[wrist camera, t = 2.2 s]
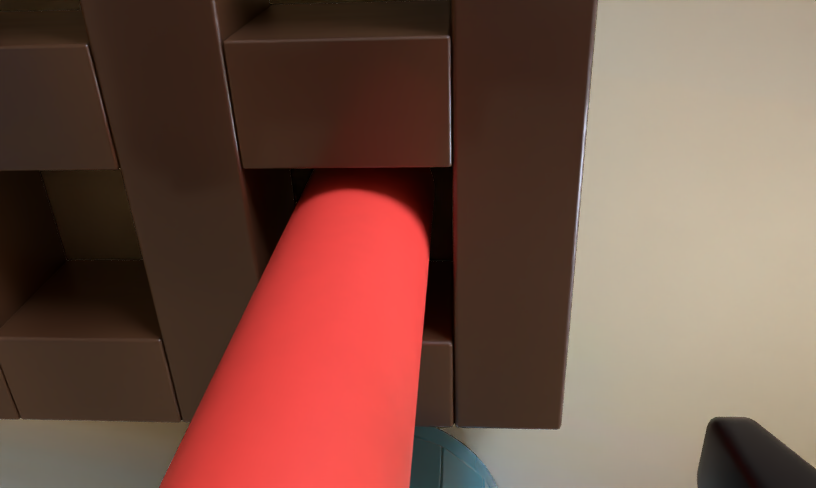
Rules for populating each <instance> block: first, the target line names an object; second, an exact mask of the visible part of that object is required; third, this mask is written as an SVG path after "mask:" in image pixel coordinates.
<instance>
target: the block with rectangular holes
mask: <svg viewBox="0 0 816 488" xmlns="http://www.w3.org/2000/svg"><path fill="white" fill-rule="evenodd" d="M79 3H80V7H81V10H46V11H9V12H0V419H20V418H22V419H40V420H89V421H138V422H181V421H182V420H183V421H184V422H191V420H192V418H193V416H194V414H195V412H196V410H197V408H198V406H199V404H200V402H201V400H202V398H203V396H204V394H205V392H206V390H207V387H208V385H209V383H210V381H211V379H212V377H213V375H214V373H215V371H216V369H217V367H218V365H219V363H220V361H221V359H222V357H223V355H224V353H225V350H226V348H227V346H228V344H229V342H230V340H231V338H232V336H233V334H234V332H235V330H236V328H237V326H238V324H239V322H240V320H241V318H242V316H243V313H244V311H245V309H246V307H247V305H248V303H249V301H250V299H251V297H252V295H253V293H254V291H255V289H256V287H257V285H258V283H259V281H260V279H261V276H262V274H263V272H264V270H265V268H266V266H267V264H268V262H269V260H270V258H271V256H272V254H273V252H274V250H275V248H276V246H277V244H278V242H279V240H280V237H281V235H282V233H283V231H284V229H285V227H286V225H287V223H288V221H289V219H290V217H291V215H292V213H293V211H294V209H295V202H294V194H293V186H292V178H291V170H290V168H390V167H450V166H451V165H452V201H453V261H429V267H428V278H427V290H426V301H425V313H424V324H423V336H422V348H421V359H420V371H419V382H418V394H417V405H416V417H415V427H452V426H453V424H454V423H455V425H456V427H459V428H508V429H560V427H561V423H562V412H563V400H564V388H565V377H566V365H567V353H568V342H569V330H570V319H571V307H572V295H573V284H574V272H575V261H576V249H577V237H578V226H579V214H580V203H581V191H582V179H583V168H584V156H585V144H586V133H587V121H588V110H589V98H590V86H591V75H592V63H593V52H594V40H595V28H596V17H597V5H598V0H414V1H377V2H340V3H303V4H273V5H271V6H270V2H269V0H79ZM119 168H120V169H121V173H122V177H123V181H124V185H125V189H126V193H127V197H128V201H129V206H130V210H131V214H132V218H133V222H134V226H135V230H136V234H137V238H138V242H139V246H140V250H141V254H142V258H143V260H68V261H67V259H66V255H65V252H64V249H63V246H62V242H61V239H60V236H59V232H58V229H57V226H56V223H55V219H54V216H53V213H52V210H51V206H50V203H49V200H48V196H47V193H46V190H45V187H44V183H43V180H42V177H41V174H40V170H117V169H119Z"/></svg>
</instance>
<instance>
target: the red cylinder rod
mask: <svg viewBox="0 0 816 488" xmlns="http://www.w3.org/2000/svg"><path fill="white" fill-rule="evenodd" d="M434 197H435V185H434V179H433V175H432V172H431V169H430V167H390V168H314V170H313V172H312V174H311V176H310V178H309V180H308V182H307V184H306V186H305V188H304V190H303V192H302V194H301V196H300V198H299V200H298V203H297V205H296V207H295V209H294V211H293V213H292V215H291V217H290V219H289V221H288V223H287V225H286V227H285V229H284V231H283V233H282V235H281V237H280V240H279V242H278V244H277V246H276V248H275V250H274V252H273V254H272V256H271V258H270V260H269V262H268V264H267V266H266V268H265V270H264V272H263V274H262V276H261V279H260V281H259V283H258V285H257V287H256V289H255V291H254V293H253V295H252V297H251V299H250V301H249V303H248V305H247V307H246V309H245V311H244V313H243V316H242V318H241V320H240V322H239V324H238V326H237V328H236V330H235V332H234V334H233V336H232V338H231V340H230V342H229V344H228V346H227V348H226V350H225V353H224V355H223V357H222V359H221V361H220V363H219V365H218V367H217V369H216V371H215V373H214V375H213V377H212V379H211V381H210V383H209V385H208V387H207V390H206V392H205V394H204V396H203V398H202V400H201V402H200V404H199V406H198V408H197V410H196V412H195V414H194V416H193V418H192V420H191V422H190V424H189V427H188V429H187V431H186V433H185V435H184V437H183V439H182V441H181V443H180V445H179V447H178V449H177V451H176V453H175V455H174V457H173V459H172V461H171V464H170V466H169V468H168V470H167V472H166V474H165V476H164V478H163V480H162V482H161V484H160V486H159V488H409V486H410V475H411V463H412V452H413V440H414V428H415V417H416V405H417V394H418V382H419V371H420V359H421V348H422V336H423V324H424V313H425V301H426V290H427V278H428V267H429V255H430V244H431V232H432V220H433V209H434Z"/></svg>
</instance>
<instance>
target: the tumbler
mask: <svg viewBox="0 0 816 488" xmlns="http://www.w3.org/2000/svg"><path fill="white" fill-rule="evenodd" d="M409 488H497V485H496V483H495V481H494V479H493V477H492V475H491V474H490V472H489V471H488V469H487V468H486V466H485V465H484V464H483V463H482V461H481V460H480V459H479V458H478V457H477V456H476V455H475V454H474V453H473V452H472V451H471V450H470V449H469V448H467V447H466V446H465V445H464V444H463V443H461V442H460V441H458V440H457V439H455V438H454V437H452V436H451V435H449V434H448V433H446V432H444V431H442V430H440V429H438V428H436V427H415V428H414V440H413V452H412V463H411V475H410V486H409Z"/></svg>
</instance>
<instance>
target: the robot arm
mask: <svg viewBox="0 0 816 488" xmlns="http://www.w3.org/2000/svg"><path fill="white" fill-rule="evenodd" d="M697 484H698V488H816V469H815V468H814V467H812V466H811V465H810V464H809V463H807V462H806V461H805V460H804V459H802V458H801V457H800V456H799V455H797V454H796V453H795V452H794V451H792V450H791V449H790V448H789V447H787V446H786V445H785V444H783V443H782V442H781V441H780V440H778V439H777V438H776V437H775V436H773V435H772V434H771V433H770V432H768V431H767V430H766V429H765V428H763V427H762V426H761V425H760V424H758V423H757V422H755V421H754V420H752V419H750V418H746V417H715V418H713V419H711V420H710V422H709V423H708V426H707V429H706V434H705V438H704V443H703V448H702V453H701V457H700V462H699V467H698V473H697Z"/></svg>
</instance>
